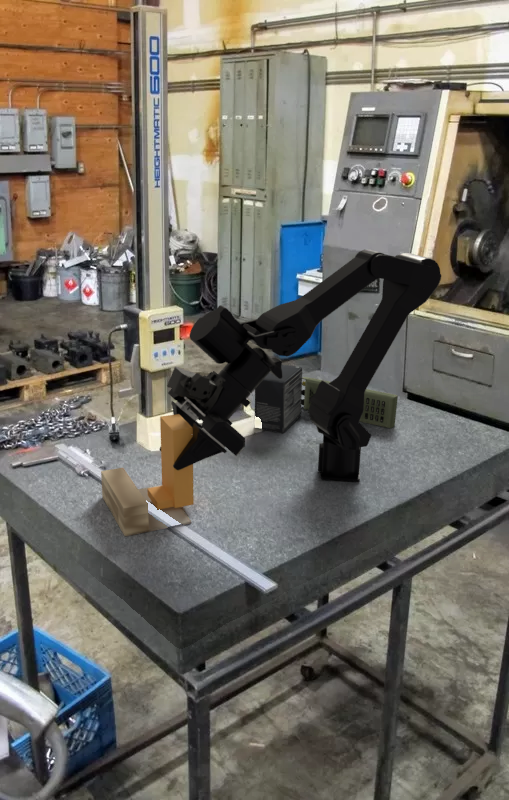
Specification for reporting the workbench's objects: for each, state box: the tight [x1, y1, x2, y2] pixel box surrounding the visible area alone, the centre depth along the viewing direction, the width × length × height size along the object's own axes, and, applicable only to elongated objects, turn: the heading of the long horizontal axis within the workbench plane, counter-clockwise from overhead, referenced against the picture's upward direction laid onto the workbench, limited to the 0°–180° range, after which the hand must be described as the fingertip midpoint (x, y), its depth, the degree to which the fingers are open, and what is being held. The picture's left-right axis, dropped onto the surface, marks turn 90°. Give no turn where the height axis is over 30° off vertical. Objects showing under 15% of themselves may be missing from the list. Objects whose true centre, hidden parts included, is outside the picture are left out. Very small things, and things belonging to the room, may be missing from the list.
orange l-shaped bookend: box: [146, 414, 195, 510], centre depth 114 cm, size 6×6×12 cm
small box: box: [254, 364, 303, 434], centre depth 149 cm, size 11×6×10 cm, turn 157°
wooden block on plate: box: [100, 467, 193, 537], centre depth 115 cm, size 10×13×4 cm
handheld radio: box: [301, 376, 399, 429], centre depth 154 cm, size 7×3×25 cm
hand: (168, 460), depth 114 cm, fingers closed on orange l-shaped bookend, 6 cm apart
